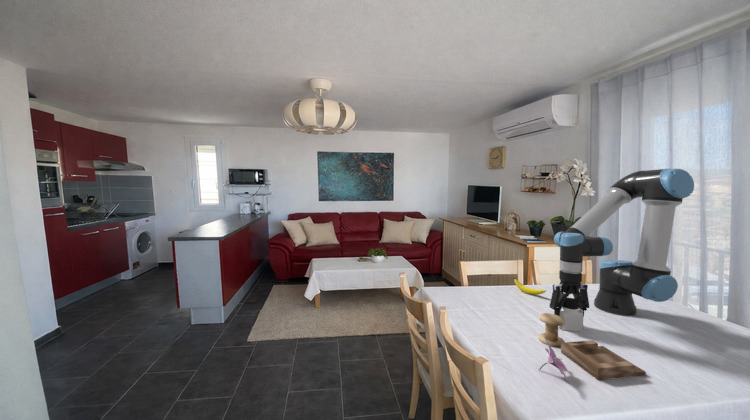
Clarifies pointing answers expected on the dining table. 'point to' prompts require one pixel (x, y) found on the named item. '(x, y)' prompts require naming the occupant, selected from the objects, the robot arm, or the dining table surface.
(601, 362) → the notched board
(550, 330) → the bobbin
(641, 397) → the dining table surface
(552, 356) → the lily
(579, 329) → the medicine bottle
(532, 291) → the banana
